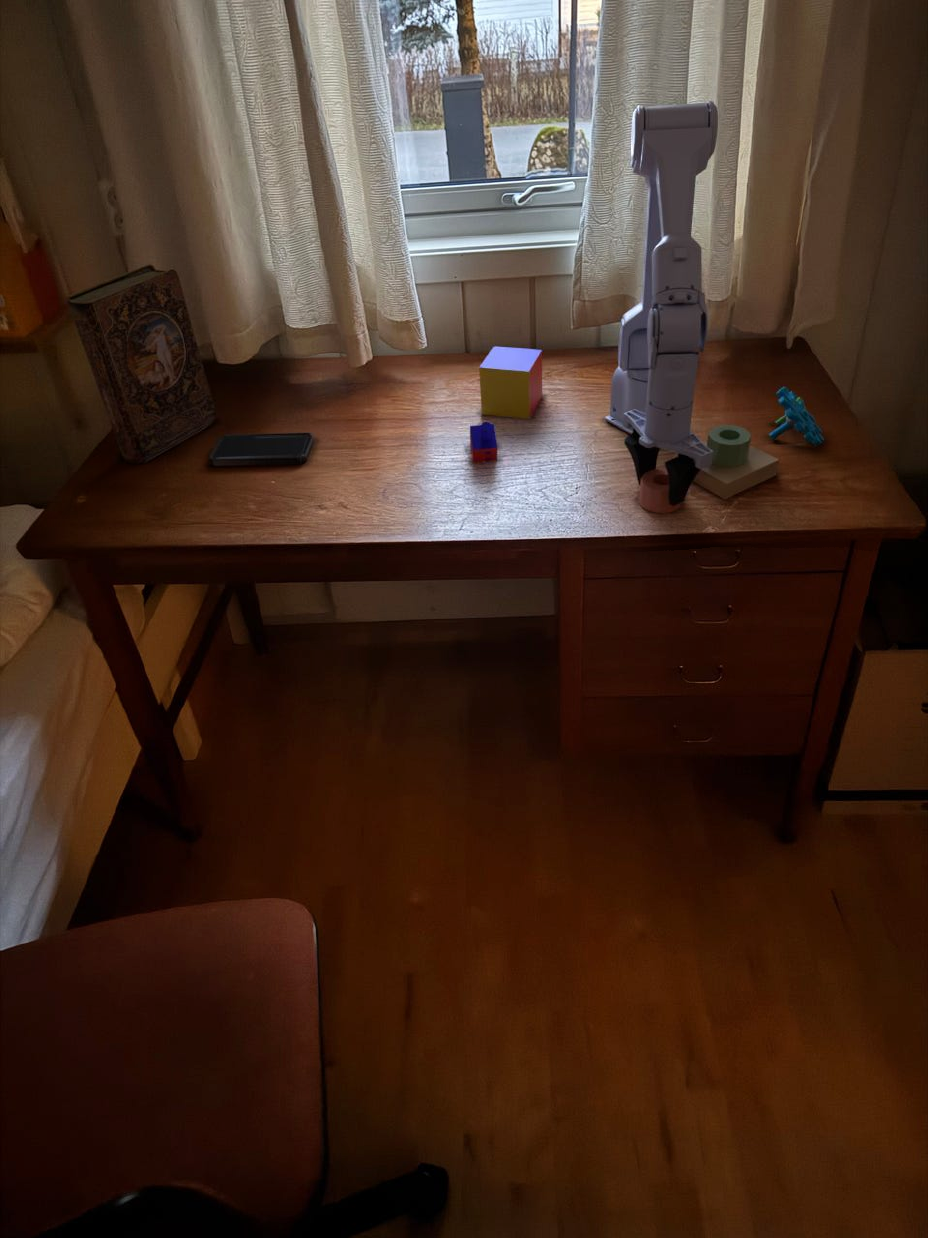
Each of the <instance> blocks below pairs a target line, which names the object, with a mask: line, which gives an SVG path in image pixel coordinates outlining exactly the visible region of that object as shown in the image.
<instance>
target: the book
mask: <svg viewBox="0 0 928 1238" xmlns="http://www.w3.org/2000/svg"><path fill="white" fill-rule="evenodd" d="M179 277H180V276H179V275H178V272H177V271H176V270H175V269H172V268H169V269H168V270H167V269H166V270H159V269H156V268H155V266H154V265H153V264H148V263H147V264H145V265H143V266H140V267H138V268H135V269H133V270H130V271H128V272H126V273H123V274H121V275H117V276H115V277H112V278H110V279H108V280H105V281H102V282H100V283H97V284H95V285H92V286H90V287H87V288H85V289H83V290H80V291H77V292H75V293H72V294H69V295H67V296H66V297H65V300H66V304H67V305H68V308H69V311H70V313H71V317H72V319H73V322H74V325H75V328H76V330H77V333H78V336H79V339H80V342H81V345H82V348H83V350H84V352H85V353H84V354H85V356H86V358H87V361H88V364H89V366H90V369H91V372H92V374H93V378H94V380H95V383H96V386H97V389H98V391H99V394H100V397H101V399H102V402H103V405H104V408H105V411H106V414H107V416H108V417H107V418H108V419H109V423H110V425H111V428H112V431H113V433H114V436H115V439H116V442H117V444H118V447H119V451H120V453H121V455H122V458H123V459H124V461H126V462H129V463H131V464H145V463H147V462H148V461H151V460H152V459H154V458H157V456H159V455H161V454H162V453H164V452H166V451H168V450H170V449H171V448H173V447H175V446H177V445H178V444H180V443H182V442H184V441H185V440H187V439H189V438H191V437H193V436H194V435H196V434H199V433H200V432H202V431H203V430H204V429H206V428H208V427H209V426H211V425H213V424H214V423H215V422H216V420H217V413H216V412H217V411H216V408H215V404H214V401H213V397H212V393H211V390H210V386H209V382H208V378H207V375H206V372H205V368H204V364H203V360H202V356H201V353H200V349H199V346H198V343H197V339H196V335H195V331H194V328H193V325H192V320H191V317H190V315H189V314H190V313H189V309H188V306H187V302H186V299H185V295H184V292H183V288H182V285H181V281H180V278H179Z"/></svg>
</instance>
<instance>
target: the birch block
mask: <svg viewBox="0 0 928 1238" xmlns="http://www.w3.org/2000/svg"><path fill="white" fill-rule="evenodd" d="M702 442H703V444H704V445H705V446H706V447H707V440H705V441H702ZM675 457H678V453H675V454H674V455H673V458H675ZM779 462H780V459H779V458H777V457H775V456H774V455H773V456H772V454H769V453H767V452H765V451H763V450H761V449H759V448H757V447H755V446H753V445H751V444H750V447H749V453H748V458H747V460H746V462H745V463H744V464H742V465H740V466H738V467H721V466H716V465H714V464H712V465H709V466H707V467H705V468H703V469H701V470H700V471H699V472H698V474H697V475H696V477H695V478H694V480H693V482H694V483H695V484H697V485H699V486H700V487H702V488H704V489H705V490H707V491H709V492H711V493H713V494H714V495H715V496H718V497H719V498H721V499H722V500H727V499H729V498H731V497H733V496H735V495H737V494H739V493H742V492H743V491H745V490H748V489H750V488H752V487H754V486H757V485H758V484H760V483H764V482H765V481H767V480H769V479H771V478H773V477H775V476H777V474H778V473H777V472H778V468H779V464H780V463H779ZM693 482H692V483H693Z"/></svg>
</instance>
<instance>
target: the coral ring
mask: <svg viewBox="0 0 928 1238" xmlns="http://www.w3.org/2000/svg"><path fill="white" fill-rule="evenodd" d="M638 497H639V498H638V501H639V504H640V506H641V507H642V508H644V509H645V510H646V511H648V512H653V513H657V514H664V513H672V512H674V511H677V510H678V509H679V508H681V507H680V506H681V504H682V503H683V502H681V503H679V504H677V505H675V506H672V505H671V504H670V503H669V477H668V472H667V469H666V468H656V469H653V470H650V471H648V472H646V473H644V474H643V476H642V477H641V483H640V485H639V495H638Z"/></svg>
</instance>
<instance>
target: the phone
mask: <svg viewBox="0 0 928 1238" xmlns="http://www.w3.org/2000/svg"><path fill="white" fill-rule="evenodd" d="M314 443H315V440H314V435H313V433H311V432H280V433H279V432H276V433H242V434H241V433H240V434H239V433H238V434H237V433H236V434H224V435H221V436H220V437H219V438H218V440H217V442H216V444H215V446H214V447H213V449H212V450H211V452H210V454H209V456H208V458H209V461H210V462H209V463H210V464H211V466H213V467H214V466H215V467H231V466H234V467H235V466H277V465H279V466H281V465H302V464H305V462H307V460H308V458H309V455H310V453H311V451H312V447H313V445H314Z"/></svg>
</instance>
